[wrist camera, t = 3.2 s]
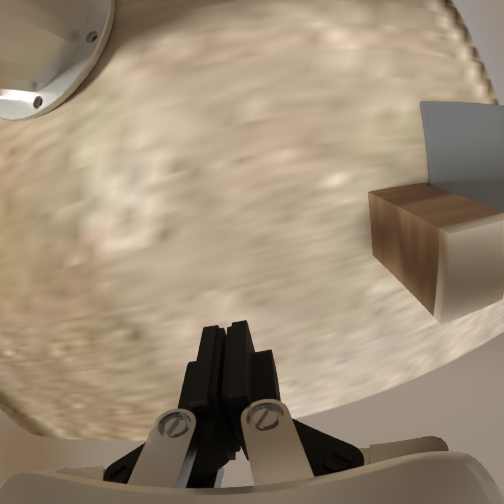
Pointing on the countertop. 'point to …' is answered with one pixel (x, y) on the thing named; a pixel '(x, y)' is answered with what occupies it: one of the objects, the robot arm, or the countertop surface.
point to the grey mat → (466, 150)
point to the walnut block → (440, 247)
